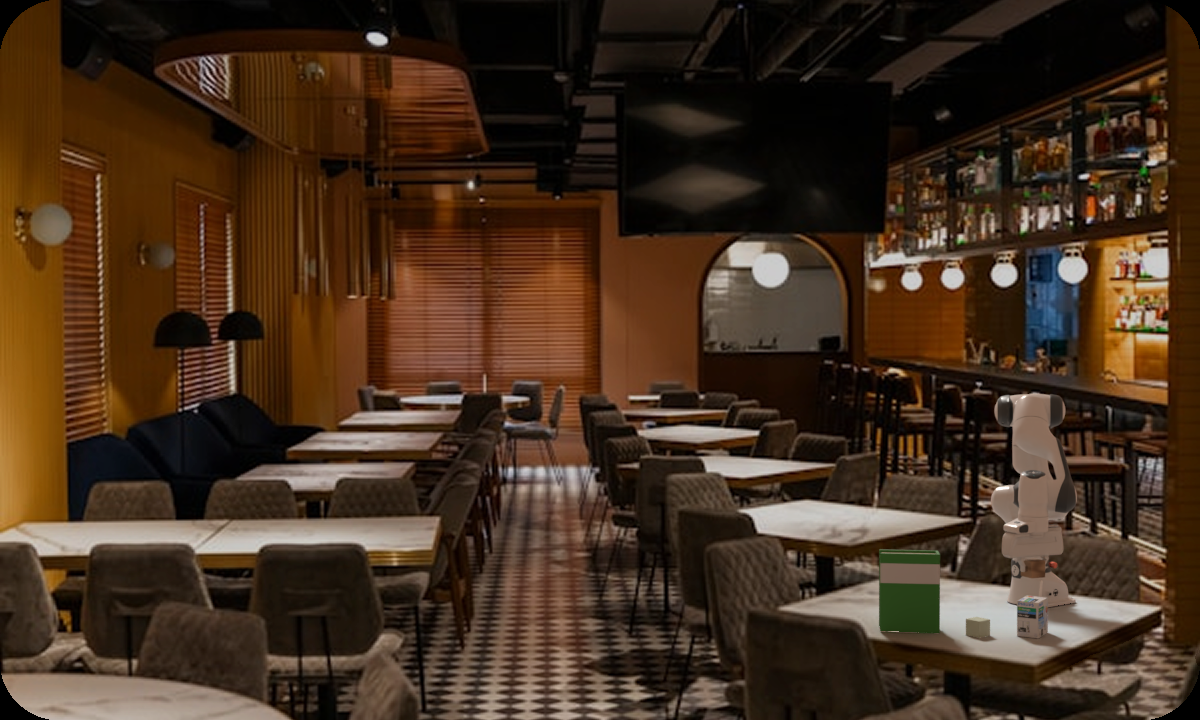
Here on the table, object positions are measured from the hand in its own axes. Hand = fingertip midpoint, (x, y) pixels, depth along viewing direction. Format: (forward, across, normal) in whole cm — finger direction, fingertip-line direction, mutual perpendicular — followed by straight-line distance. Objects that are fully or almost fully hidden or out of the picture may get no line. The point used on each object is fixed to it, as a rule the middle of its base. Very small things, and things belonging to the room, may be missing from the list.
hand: (1032, 571), depth 441 cm
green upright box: (+19, +31, -19) cm, 41 cm away
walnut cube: (+2, 0, 0) cm, 2 cm away
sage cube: (+19, +16, -5) cm, 26 cm away
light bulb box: (+19, 0, 0) cm, 19 cm away
